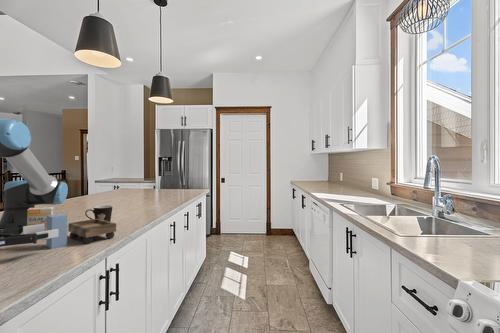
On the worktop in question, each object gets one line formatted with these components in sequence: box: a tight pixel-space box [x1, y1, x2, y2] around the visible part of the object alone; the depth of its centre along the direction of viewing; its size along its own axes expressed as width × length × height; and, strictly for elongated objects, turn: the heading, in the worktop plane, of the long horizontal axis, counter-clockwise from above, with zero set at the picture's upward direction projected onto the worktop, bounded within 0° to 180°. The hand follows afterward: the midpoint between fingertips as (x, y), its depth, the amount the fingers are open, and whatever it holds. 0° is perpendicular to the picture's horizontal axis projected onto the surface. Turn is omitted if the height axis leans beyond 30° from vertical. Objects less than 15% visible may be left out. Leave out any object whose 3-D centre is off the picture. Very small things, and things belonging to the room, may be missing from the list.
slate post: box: [46, 213, 68, 250], centre depth 100 cm, size 5×5×12 cm
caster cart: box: [67, 218, 117, 245], centre depth 110 cm, size 16×12×6 cm
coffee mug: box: [84, 204, 113, 222], centre depth 132 cm, size 12×9×10 cm
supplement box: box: [27, 206, 55, 239], centre depth 109 cm, size 8×5×13 cm, turn 117°
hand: (51, 229), depth 98 cm, fingers open, 13 cm apart
